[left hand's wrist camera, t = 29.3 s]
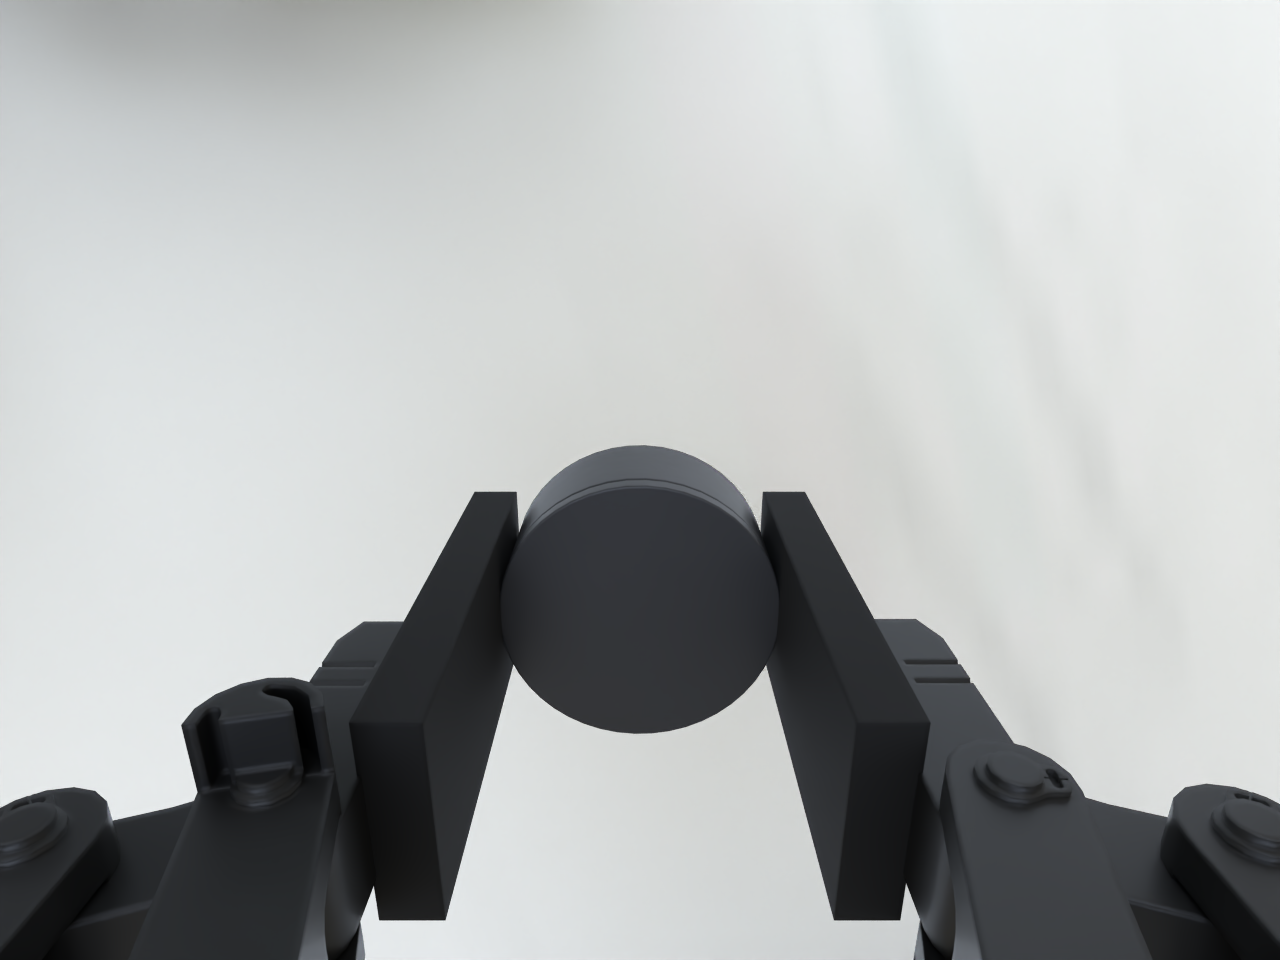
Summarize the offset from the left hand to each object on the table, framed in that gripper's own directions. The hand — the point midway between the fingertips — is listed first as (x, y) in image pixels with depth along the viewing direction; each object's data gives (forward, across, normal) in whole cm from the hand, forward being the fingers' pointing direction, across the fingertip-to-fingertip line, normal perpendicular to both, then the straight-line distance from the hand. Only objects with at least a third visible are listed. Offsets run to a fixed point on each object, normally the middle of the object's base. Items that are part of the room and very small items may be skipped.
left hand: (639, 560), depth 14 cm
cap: (-2, 0, 0) cm, 2 cm away
